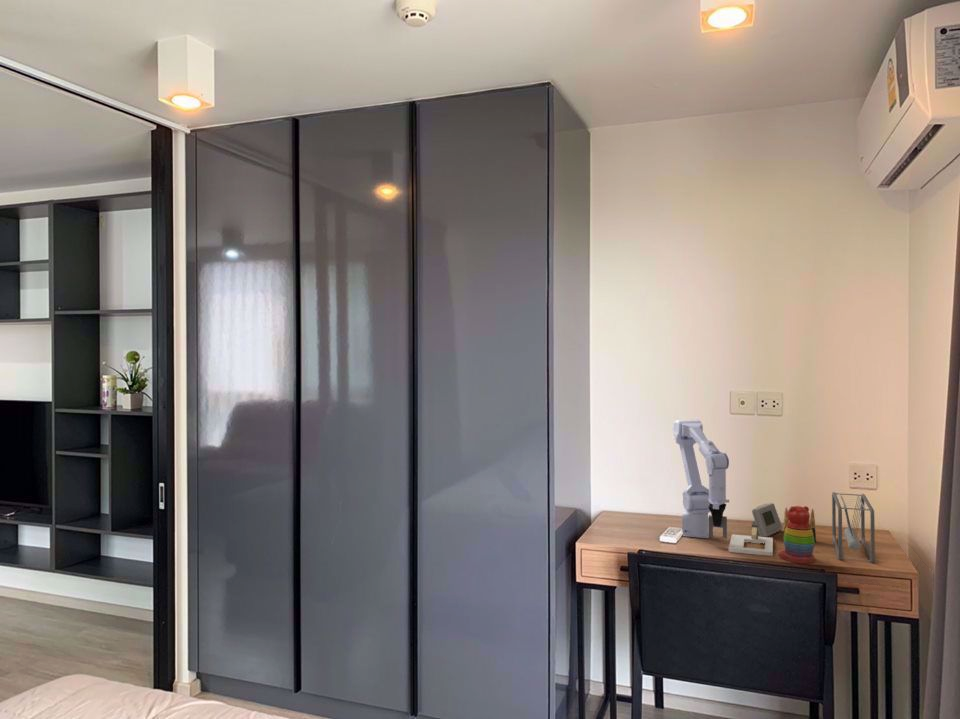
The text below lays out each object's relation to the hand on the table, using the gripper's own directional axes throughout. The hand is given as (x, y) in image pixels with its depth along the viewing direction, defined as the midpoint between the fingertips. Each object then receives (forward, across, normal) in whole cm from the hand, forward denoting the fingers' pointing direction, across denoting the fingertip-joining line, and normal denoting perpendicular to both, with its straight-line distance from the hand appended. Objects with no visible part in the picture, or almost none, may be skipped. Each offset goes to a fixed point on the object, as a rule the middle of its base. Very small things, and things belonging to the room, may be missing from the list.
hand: (717, 525), depth 247 cm
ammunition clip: (+8, +18, -27) cm, 33 cm away
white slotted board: (+8, +4, -11) cm, 14 cm away
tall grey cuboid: (+4, 0, 0) cm, 4 cm away
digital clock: (+8, +25, -16) cm, 30 cm away
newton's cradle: (+8, +10, -44) cm, 45 cm away
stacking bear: (+8, -7, -26) cm, 28 cm away
